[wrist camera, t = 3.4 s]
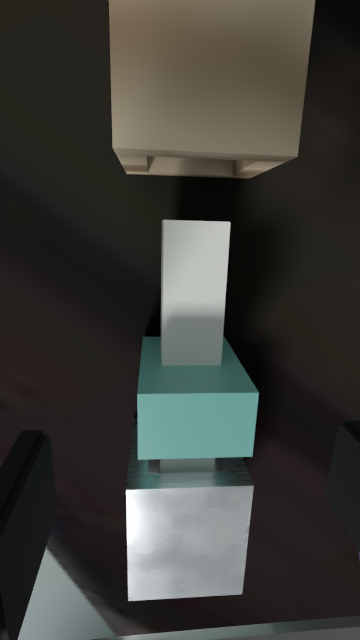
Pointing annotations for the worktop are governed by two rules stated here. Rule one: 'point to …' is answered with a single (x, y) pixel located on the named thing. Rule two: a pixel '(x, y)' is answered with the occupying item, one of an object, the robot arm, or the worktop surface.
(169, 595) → the sleeve
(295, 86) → the socket
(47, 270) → the worktop surface
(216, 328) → the plug
